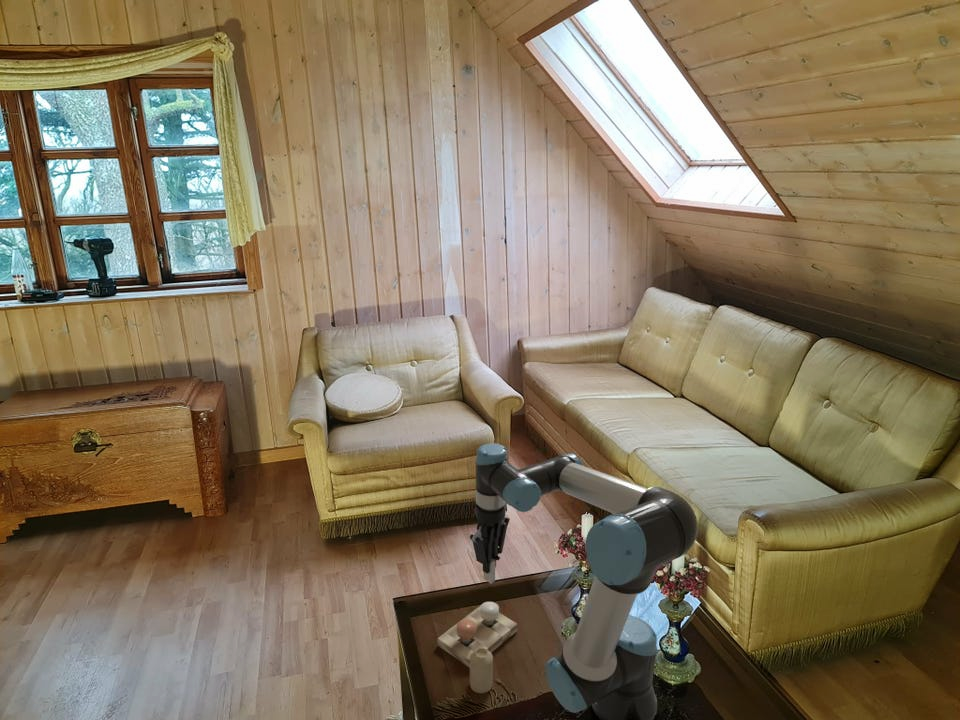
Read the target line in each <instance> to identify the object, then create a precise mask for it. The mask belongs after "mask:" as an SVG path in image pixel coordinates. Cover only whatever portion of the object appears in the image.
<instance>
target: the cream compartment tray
mask: <svg viewBox="0 0 960 720" xmlns="http://www.w3.org/2000/svg"><path fill="white" fill-rule="evenodd" d="M480 606H481V605H480ZM480 606H479V605H478V607H477V608H475V609H474V610H473V611H471V612H470V613H469V614H467V615H466V616H465V617H463V618H462V619H461V620H464V619H469V620H472V621H474V622H475V624H476V635H475V636H474V637H473V638H471V642H470V643H469V644H468V646H466V645H465V644H463V643H462V638H460V637H458V635H457V623H456V624H454V625H453V626H452V627H450V628H449V629H448V630H446V631H445V632H443V634H441V635H440V636H439V637H437V646H438V647H439V648H441V649H442V650H443V651H445V652H447V654H449V655H451V656H452V657H453V658H455V659H457V660H458V661H459V662H461V664H463V665H465V666H466V667H468V668H469V669H470V655H471V653H472V652H473V651H475V650H477V649H480V648H484V649H486V650H488V651H489V652H490V653H491V654H492V653H493V652H494V651H495V650H496V649H498V648H499V647H500V646H501V645H503V644H504V642H507V640H508V639H510V637H512V636H513V635H514V634H515V633H517V632H518V623H517V622H515V621H513V620H512V619H510V618H509V617H507V616H505V615H503V614H502V613H501V612H499V616H498V618H497V619H495V620H494V624H493V625H491V627H490V626H488V625H486V624H485V620H484V619H482V618H481V616H480Z"/></svg>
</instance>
